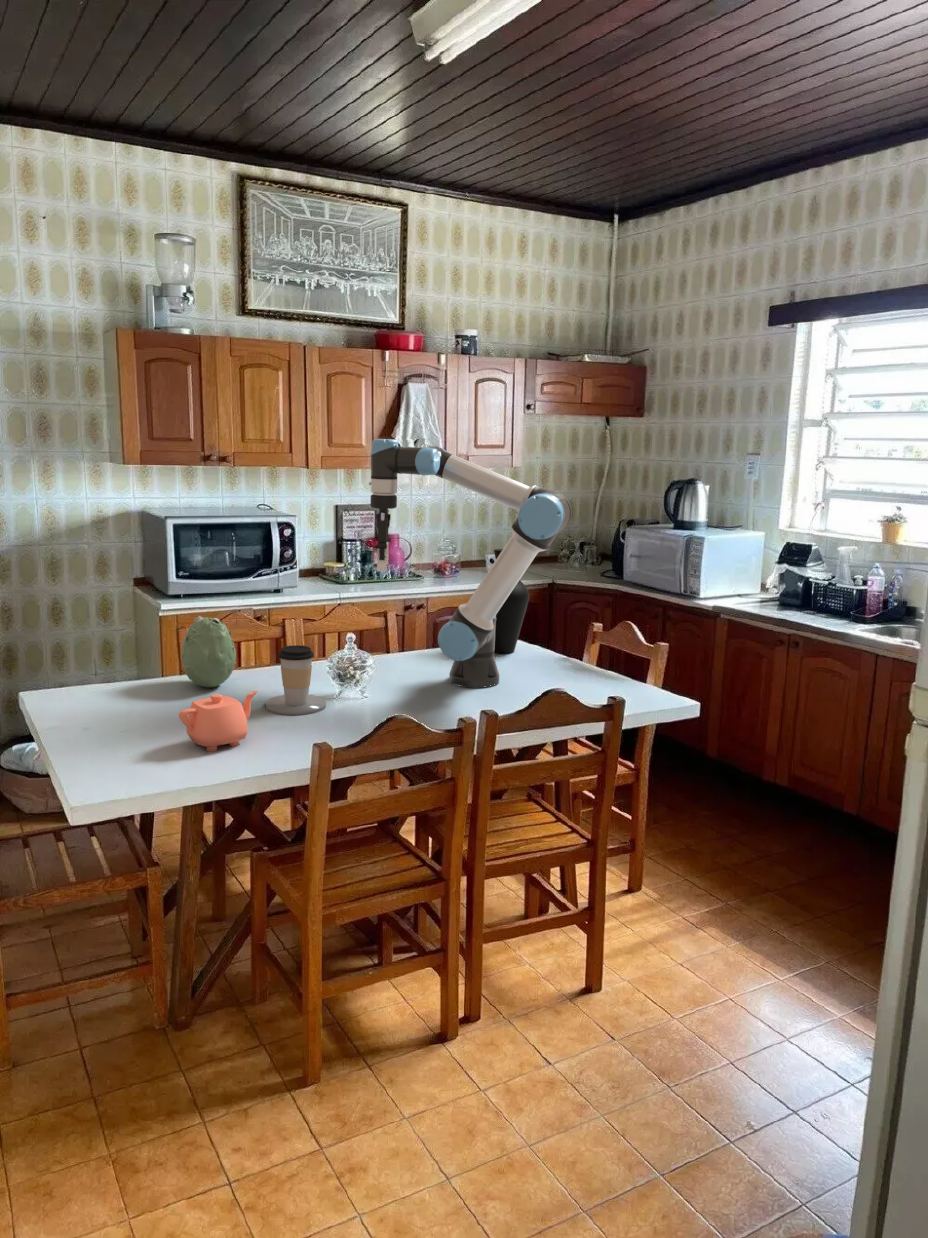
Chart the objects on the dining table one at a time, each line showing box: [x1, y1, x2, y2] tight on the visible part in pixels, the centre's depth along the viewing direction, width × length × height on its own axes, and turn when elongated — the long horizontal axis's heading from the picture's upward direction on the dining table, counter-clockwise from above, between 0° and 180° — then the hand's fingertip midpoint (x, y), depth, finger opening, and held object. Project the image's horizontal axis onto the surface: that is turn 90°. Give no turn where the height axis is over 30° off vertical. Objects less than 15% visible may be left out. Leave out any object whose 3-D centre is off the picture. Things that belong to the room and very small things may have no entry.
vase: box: [493, 548, 530, 655], centre depth 313 cm, size 17×17×35 cm
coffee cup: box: [277, 644, 315, 706], centre depth 246 cm, size 9×9×15 cm
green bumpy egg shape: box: [181, 615, 237, 688], centre depth 262 cm, size 16×19×20 cm
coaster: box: [265, 694, 327, 716], centre depth 248 cm, size 16×16×1 cm
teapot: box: [178, 690, 258, 752], centre depth 217 cm, size 20×12×12 cm, turn 132°
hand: (382, 567), depth 266 cm, fingers open, 13 cm apart
